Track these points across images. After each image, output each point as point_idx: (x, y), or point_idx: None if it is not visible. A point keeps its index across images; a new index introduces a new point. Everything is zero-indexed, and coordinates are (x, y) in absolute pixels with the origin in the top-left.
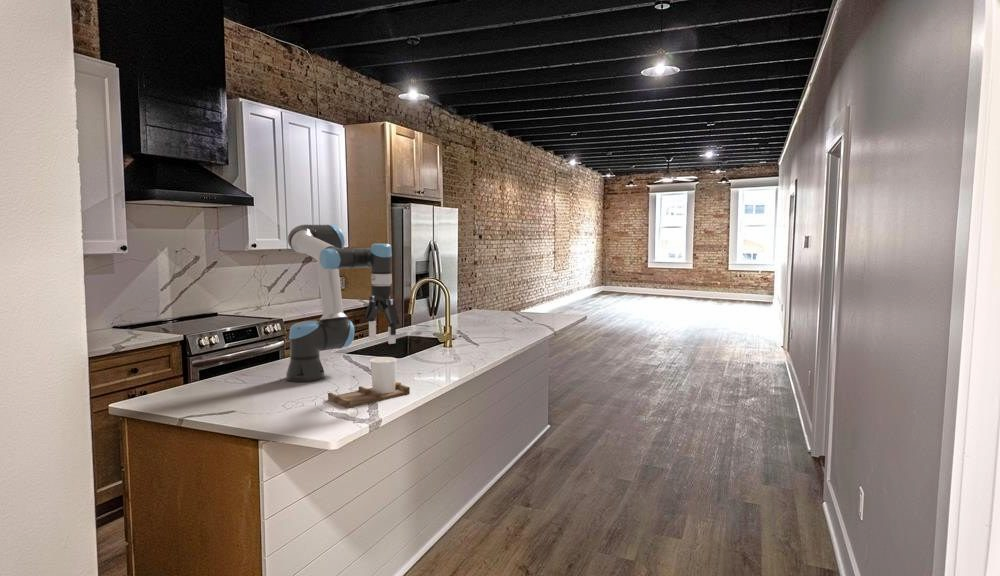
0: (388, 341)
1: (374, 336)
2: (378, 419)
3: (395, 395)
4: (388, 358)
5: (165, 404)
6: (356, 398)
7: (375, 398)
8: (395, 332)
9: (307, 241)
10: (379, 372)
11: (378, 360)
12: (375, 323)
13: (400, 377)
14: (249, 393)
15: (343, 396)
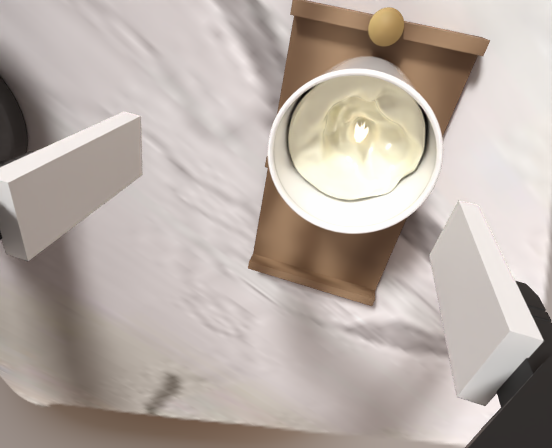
0: (435, 269)
1: (135, 137)
2: None
3: (447, 122)
4: (323, 79)
5: (55, 380)
6: (341, 236)
7: None
8: (540, 309)
9: None
10: (379, 199)
11: (279, 124)
12: (37, 176)
13: None
14: (63, 290)
15: (285, 237)
